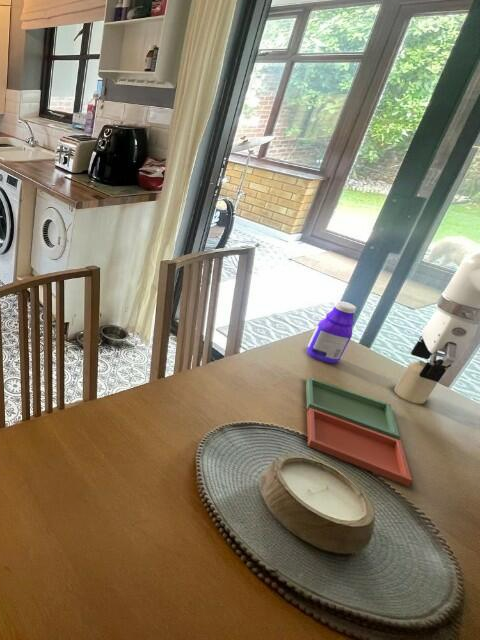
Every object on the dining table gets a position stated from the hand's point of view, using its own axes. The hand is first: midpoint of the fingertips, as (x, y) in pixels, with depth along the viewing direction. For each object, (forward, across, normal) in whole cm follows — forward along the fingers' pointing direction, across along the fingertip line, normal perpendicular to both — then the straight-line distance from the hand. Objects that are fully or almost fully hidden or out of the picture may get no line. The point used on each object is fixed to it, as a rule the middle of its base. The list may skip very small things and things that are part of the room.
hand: (423, 367), depth 98 cm
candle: (+9, 0, 0) cm, 9 cm away
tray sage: (+9, -16, +12) cm, 22 cm away
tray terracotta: (+9, -29, +12) cm, 33 cm away
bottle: (+9, +6, +16) cm, 20 cm away
